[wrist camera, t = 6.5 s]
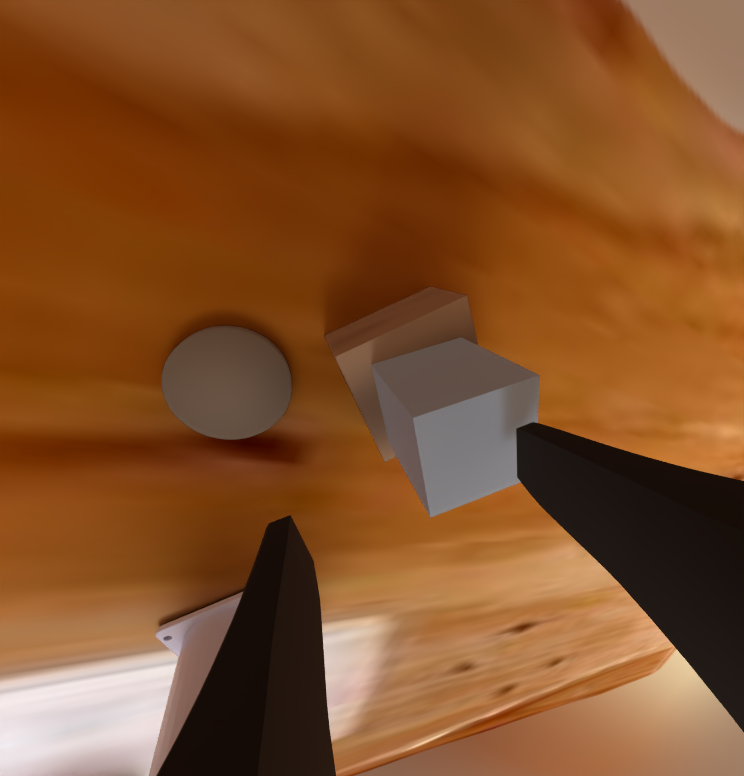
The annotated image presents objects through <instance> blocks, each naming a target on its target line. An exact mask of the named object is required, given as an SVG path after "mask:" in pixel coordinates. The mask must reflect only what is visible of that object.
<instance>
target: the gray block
mask: <svg viewBox="0 0 744 776" xmlns="http://www.w3.org/2000/svg"><path fill="white" fill-rule="evenodd" d="M371 366H372V371H373V375H374V379H375V384H376V388H377V393H378V397H379V401H380V406H381V410H382V414H383V419H384V423H385V427H386V432H387V436H388V440H389V444H390V446H391V448H392V449H393V451H394V453H395V455H396V457H397V458H398V460H399V462H400V464H401V466H402V467H403V469H404V471H405V473H406V474H407V476H408V478H409V480H410V482H411V483H412V485H413V487H414V489H415V491H416V492H417V494H418V496H419V498H420V500H421V501H422V503H423V505H424V507H425V509H426V510H427V512H428V514H429V516H430V518H431V517H433V516H436V515H438V514H441V513H443V512H446V511H449V510H451V509H454V508H456V507H459V506H461V505H464V504H466V503H469V502H472V501H474V500H477V499H479V498H482V497H484V496H487V495H489V494H492V493H494V492H497V491H500V490H502V489H505V488H507V487H510V486H512V485H515V484H517V483H520V482H521V481H520V480H519V479H518V478H517V443H516V428H519V427H521V426H524V425H526V424H529V423H532V422H535V423H538V401H539V378H540V375H538V374H536V373H534V372H532V371H530V370H528V369H526V368H524V367H522V366H520V365H517V364H515V363H513V362H511V361H509V360H507V359H505V358H503V357H501V356H499V355H497V354H495V353H493V352H491V351H489V350H486V349H484V348H482V347H480V346H478V345H476V344H474V343H472V342H470V341H468V340H466V339H464V338H462V337H460V338H457V339H454V340H450V341H447V342H444V343H441V344H437V345H434V346H431V347H427V348H424V349H421V350H418V351H414V352H411V353H408V354H404V355H401V356H398V357H395V358H391V359H388V360H385V361H381V362H378V363H375V364H372V365H371Z"/></svg>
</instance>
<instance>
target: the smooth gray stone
mask: <svg viewBox="0 0 744 776" xmlns="http://www.w3.org/2000/svg"><path fill="white" fill-rule="evenodd" d="M162 390H163V395H164V398H165V400H166V402H167V404H168V406H169V408H170V409H171V411H172V412H173V413H174V415H175V416H176V417H177V418H178V419H179V420H180V421H181V422H183V423H184V424H185V425H186V426H188V427H189V428H191V429H192V430H194V431H196V432H199V433H201V434H203V435H206V436H209V437H213V438H219V439H242V438H248V437H251V436H255V435H257V434H260V433H262V432H264V431H265V430H267V429H269V428H270V427H272V426H273V425H274V424H275V423H276V422H277V421H278V420H279V419H280V418H281V417H282V416H283V414H284V413H285V411H286V409H287V407H288V405H289V402H290V399H291V393H292V380H291V373H290V369H289V365H288V363H287V361H286V359H285V357H284V355H283V354H282V352H281V351H280V350H279V349H278V348H277V346H276V345H274V344H273V343H272V342H271V341H270V340H269V339H267V338H266V337H264V336H263V335H261V334H259V333H257V332H255V331H252V330H250V329H246V328H243V327H238V326H227V325H222V326H213V327H209V328H205V329H202V330H200V331H197V332H195V333H193V334H192V335H190V336H189V337H187V338H186V339H185V340H183V341H182V342H181V343H180V344H179V345H178V346H177V347H176V348H175V349H174V350H173V351H172V353H171V354H170V355H169V357H168V359H167V360H166V362H165V365H164V368H163V371H162Z"/></svg>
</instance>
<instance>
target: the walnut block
mask: <svg viewBox="0 0 744 776" xmlns="http://www.w3.org/2000/svg"><path fill="white" fill-rule="evenodd" d="M324 336H325V339H326V341H327V343H328V345H329V347H330V349H331V351H332V353H333V355H334V357H335V360H336V362H337V364H338V366H339V368H340V370H341V372H342V374H343V376H344V378H345V381H346V383H347V385H348V387H349V389H350V391H351V393H352V395H353V397H354V399H355V402H356V404H357V406H358V408H359V410H360V412H361V414H362V416H363V418H364V420H365V423H366V425H367V427H368V429H369V431H370V433H371V435H372V437H373V439H374V441H375V443H376V445H377V447H378V449H379V451H380V453H381V455H382V457H383V459H384V461H385V462H386V461H388V460H390V459H392V458H394V457H396V455H395V453H394V451H393V449H392V448H391V446H390V444H389V440H388V436H387V432H386V427H385V423H384V419H383V414H382V410H381V406H380V401H379V397H378V393H377V388H376V384H375V379H374V375H373V371H372V366H371V365H372V364H375V363H378V362H381V361H385V360H388V359H391V358H395V357H398V356H401V355H404V354H408V353H411V352H414V351H418V350H421V349H424V348H427V347H431V346H434V345H437V344H441V343H444V342H447V341H450V340H454V339H457V338H460V337H462V338H464V339H466V340H468V341H470V342H472V343H474V344H476V345H478V343H477V339H476V334H475V330H474V325H473V320H472V316H471V311H470V307H469V302H468V297H467V295H464V294H460V293H456V292H451V291H447V290H443V289H439V288H435V287H428V288H426V289H424V290H422V291H420V292H418V293H415V294H413V295H411V296H409V297H407V298H405V299H402V300H400V301H398V302H396V303H394V304H392V305H389V306H387V307H385V308H383V309H381V310H378V311H376V312H374V313H372V314H370V315H368V316H365V317H363V318H361V319H359V320H357V321H355V322H352V323H350V324H348V325H346V326H344V327H342V328H339V329H337V330H335V331H333V332H331V333H329V334H326V335H324Z"/></svg>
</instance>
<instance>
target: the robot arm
mask: <svg viewBox="0 0 744 776" xmlns="http://www.w3.org/2000/svg"><path fill="white" fill-rule="evenodd" d="M516 443H517V478H518V479H519V480H520V481H521V483H522V484H523V485H524V486H525V488H526V489H527V490H528V492H529V493H530V494H531V495H532V496H533V498H534V499H535V500H536V501H537V502H538V503H539V505H540V506H541V507H542V508H543V509H544V510H545V511H546V512H547V513H548V514H549V515H550V516H551V517H552V518H553V519H554V520H555V521H557V522H558V523H559V524H560V525H561V526H562V527H563V528H564V529H565V530H566V531H567V532H568V533H569V534H570V535H571V536H572V537H573V538H574V539H575V540H576V541H577V542H578V543H579V544H580V545H581V546H582V547H583V548H584V549H585V550H587V551H588V552H589V553H590V554H591V555H592V556H593V557H594V558H595V559H596V560H597V561H598V562H599V563H600V564H601V565H602V566H603V567H604V568H605V569H606V570H607V571H608V572H609V573H610V574H611V575H612V576H613V577H614V578H615V579H616V580H617V581H618V582H619V583H620V584H621V585H622V587H623V588H624V589H625V590H626V591H627V592H628V593H629V594H630V596H631V597H632V598H633V599H634V600H635V601H636V602H637V603H638V605H639V606H640V607H641V608H642V609H643V610H644V611H645V613H646V614H647V615H648V616H649V617H650V618H651V619H652V620H653V622H654V623H655V624H656V625H657V626H658V628H659V629H660V630H661V631H662V632H663V633H664V635H665V636H666V637H667V638H668V639H669V641H670V642H671V643H672V644H673V645H674V646H675V648H676V649H677V650H678V651H679V652H680V654H681V655H682V656H683V657H684V658H685V659H686V660H687V662H688V663H689V664H690V665H691V666H692V668H693V669H694V670H695V672H696V673H697V674H698V675H699V677H700V678H701V679H702V680H703V682H704V683H705V684H706V685H707V687H708V688H709V689H710V690H711V691H712V693H713V694H714V695H715V696H716V698H717V699H718V700H719V701H720V703H721V704H722V705H723V706H724V708H725V709H726V710H727V711H728V712H729V714H730V715H731V716H732V718H733V719H734V720H735V722H736V723H737V724H738V725H739V727H740V728H741V729H742V731H743V732H744V481H741V480H736V479H732V478H728V477H723V476H719V475H714V474H710V473H706V472H701V471H697V470H693V469H689V468H685V467H681V466H677V465H674V464H670V463H666V462H663V461H659V460H655V459H652V458H648V457H645V456H641V455H638V454H634V453H631V452H628V451H624V450H621V449H618V448H615V447H611V446H608V445H605V444H602V443H599V442H596V441H593V440H590V439H586V438H583V437H580V436H577V435H574V434H571V433H568V432H565V431H562V430H559V429H556V428H552V427H549V426H546V425H543V424H539V423H535V422H532V423H529V424H526V425H524V426H521V427H519V428H516ZM156 637H157V638H158V639H159V640H160V641H161V642H162V643H163V644H165V645H166V646H167V647H168V648H169V649H170V650H171V651H172V652H173V653H175V654H176V655H177V656H178V661H177V665H176V669H175V673H174V677H173V681H172V685H171V689H170V693H169V697H168V701H167V705H166V709H165V713H164V717H163V721H162V725H161V729H160V733H159V737H158V741H157V745H156V749H155V753H154V757H153V761H152V765H151V769H150V773H149V776H336V772H335V765H334V758H333V751H332V744H331V736H330V729H329V719H328V709H327V697H326V682H325V667H324V651H323V636H322V621H321V607H320V597H319V591H318V584H317V579H316V573H315V567H314V562H313V559H312V557H311V555H310V553H309V551H308V549H307V547H306V545H305V543H304V541H303V539H302V537H301V535H300V533H299V531H298V529H297V527H296V525H295V523H294V521H293V519H292V517H291V515H290V516H287V517H284V518H282V519H279V520H277V521H274V522H271V523H269V524H268V526H267V528H266V531H265V534H264V537H263V539H262V542H261V545H260V548H259V551H258V554H257V557H256V560H255V562H254V565H253V568H252V570H251V573H250V576H249V579H248V581H247V584H246V586H245V589H244V591H243V592H241V593H238V594H236V595H234V596H231V597H229V598H226V599H224V600H222V601H219V602H217V603H214V604H212V605H210V606H207V607H205V608H202V609H200V610H198V611H195V612H193V613H190V614H188V615H186V616H183V617H181V618H178V619H176V620H174V621H171V622H169V623H166V624H164V625H162V626H160V627H159V628H158V629H157V632H156Z"/></svg>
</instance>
